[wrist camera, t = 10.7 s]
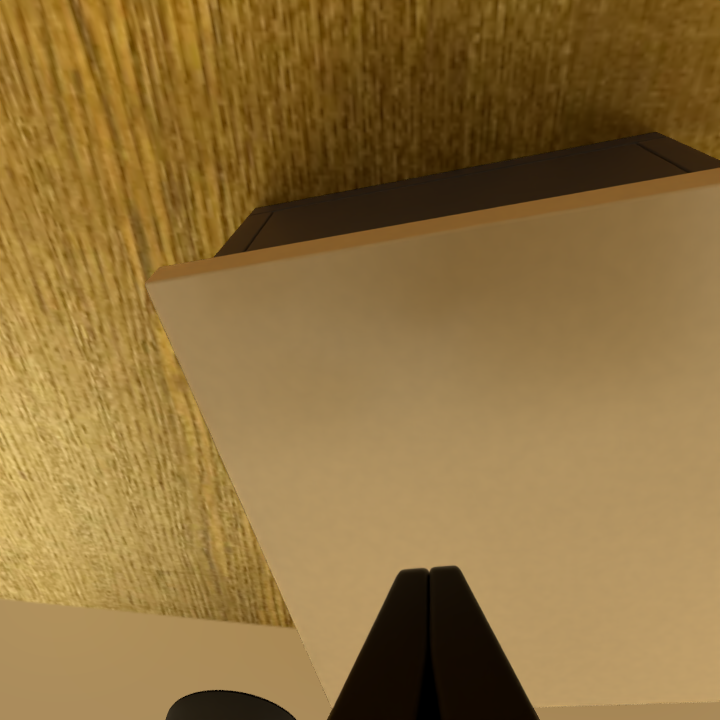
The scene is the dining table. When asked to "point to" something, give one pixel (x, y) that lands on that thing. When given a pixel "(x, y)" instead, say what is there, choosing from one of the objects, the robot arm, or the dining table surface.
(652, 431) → the lid
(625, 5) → the dining table surface
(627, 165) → the box
